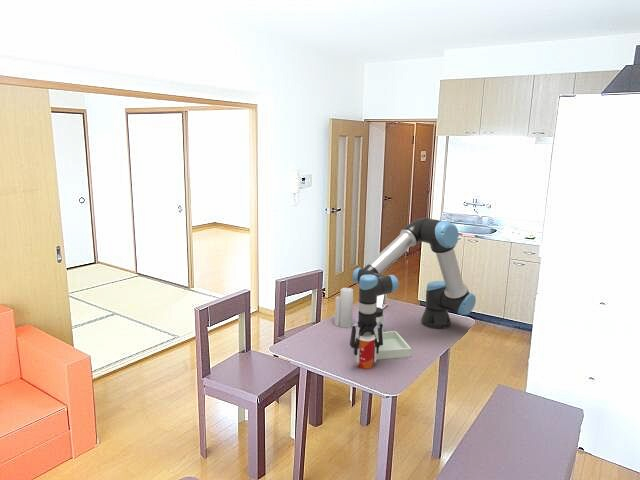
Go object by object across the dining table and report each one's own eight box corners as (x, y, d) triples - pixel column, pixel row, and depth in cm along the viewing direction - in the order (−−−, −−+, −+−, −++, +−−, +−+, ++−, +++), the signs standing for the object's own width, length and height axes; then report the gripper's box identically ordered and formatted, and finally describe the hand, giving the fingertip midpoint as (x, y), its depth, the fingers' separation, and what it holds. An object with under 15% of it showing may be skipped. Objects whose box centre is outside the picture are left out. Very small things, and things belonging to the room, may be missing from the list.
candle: (354, 325, 251) (355, 289, 246) (346, 329, 245) (347, 292, 241) (338, 319, 258) (339, 284, 254) (329, 323, 253) (330, 287, 248)
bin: (395, 338, 235) (396, 330, 234) (410, 356, 216) (411, 348, 215) (356, 341, 231) (357, 333, 230) (368, 360, 212) (369, 351, 211)
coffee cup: (354, 361, 210) (355, 330, 207) (372, 361, 211) (373, 329, 208) (357, 370, 202) (358, 338, 199) (376, 370, 203) (377, 337, 200)
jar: (363, 329, 245) (363, 307, 243) (376, 327, 248) (377, 305, 246) (371, 336, 237) (372, 313, 235) (385, 333, 240) (386, 311, 238)
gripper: (386, 306, 206) (384, 355, 211) (342, 309, 203) (341, 358, 208) (392, 312, 199) (390, 362, 204) (347, 315, 195) (345, 366, 200)
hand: (365, 360), depth 206 cm, fingers closed on coffee cup, 7 cm apart
